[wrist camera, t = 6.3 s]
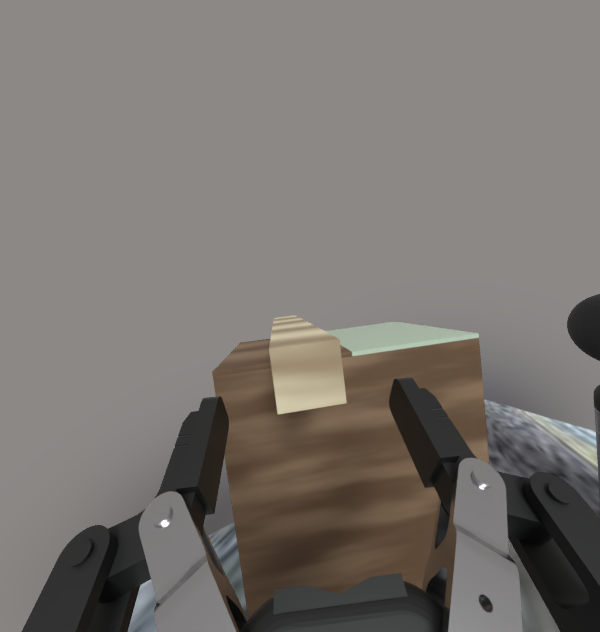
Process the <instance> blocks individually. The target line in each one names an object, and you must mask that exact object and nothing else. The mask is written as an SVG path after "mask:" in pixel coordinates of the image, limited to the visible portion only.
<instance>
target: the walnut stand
mask: <svg viewBox="0 0 600 632" xmlns="http://www.w3.org/2000/svg"><path fill="white" fill-rule="evenodd" d="M325 332H327V333H329V334H331V335H333V336H335V337H336V338H338V339H339V340H340V349H341V358H342V366H343V375H344V383H345V392H346V401H347V403H345V404H339V405H333V406H327V407H321V408H315V409H309V410H303V411H297V412H290V413H284V414H278V413H277V406H276V398H275V391H274V383H273V376H272V368H271V361H270V353H269V345H270V339H266V340H257V341H250V342H243V343H240V344H239V345H238V346H237V347H236V348H235V349H234V350H233V351H232V352H231V353H230V354H229V355H228V356H227V357H226V358H225V359H224V360H223V362H222V363H221V364H220V365H219V366H218V367H217V368H216V369H215V370H214V371H213V372H212V373H213V380H214V387H215V393H216V397H220V396H221V397H222V400H223V402H224V405H225V408H226V411H227V414H228V418H229V431H228V437H227V442H226V448H225V454H224V455H225V462H226V468H227V475H228V482H229V489H230V496H231V503H232V509H233V516H234V523H235V530H236V537H237V543H238V550H239V557H240V564H241V571H242V577H243V584H244V591H245V598H246V605H247V612H248V618H250V617H251V616H252V614H253V613H254V612H255V611H256V610H257V609H258V608H259V607H260V606H261V605H263V604H264V603H265V602H266V601H268V600H269V599H271V598H273V597H274V589H282V588H289V587H297V586H305V585H306V586H310V587H314V588H318V589H322V590H326V591H329V592H333V593H338V594H339V593H343V592H345V591H346V590H348V589H350V588H352V587H353V586H355V585H357V584H359V583H360V582H362V581H364V580H366V579H367V578H369V577H373V576H381V575H388V574H396V573H401V575H402V578H403V581H406V582H409V583H411V584H413V585H416V586H417V587H419V588H421V589H422V586H423V579H424V573H425V569H426V564H427V561H428V558H429V555H430V552H431V547H432V540H433V534H434V527H435V521H436V514H437V507H438V501H439V496H438V494H437V492H436V490H435V488H434V487H429V488H425V487H424V485H423V483H422V480H421V478H420V476H419V474H418V472H417V469H416V467H415V465H414V463H413V460H412V458H411V456H410V454H409V451H408V449H407V447H406V445H405V442H404V440H403V438H402V436H401V433H400V431H399V429H398V427H397V424H396V422H395V420H394V418H393V416H392V413H391V411H390V407H389V397H390V393H391V388H392V384H393V380H394V379H397V378H407V377H411V378H413V379H414V381H415V382H416V384H417V385H418V387H419V388H426V389H427V390H428V391H429V392H431V393H432V394H433V395H434V396H435V397H436V398H437V400H438V401H439V403H440V404H441V406H442V408H443V409H444V410H445V412H446V413H447V415H448V418H450V420H451V421H452V423H453V424H454V426H455V427H456V429H457V430H458V432H459V433H460V435H461V436H462V438H463V439H464V441H465V442H466V444H467V445H468V447H469V448H470V450H471V451H472V453H473V454H474V455H475V456H476V458H477V459H479V460H482V461H484V462H486V463H487V464H489V453H488V441H487V429H486V417H485V406H484V394H483V382H482V370H481V358H480V346H479V335H478V333H471V332H465V331H458V330H451V329H443V328H436V327H429V326H422V325H414V324H407V323H400V322H389V323H382V324H375V325H367V326H360V327H353V328H345V329H338V330H331V331H325Z"/></svg>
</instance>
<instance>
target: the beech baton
mask: <svg viewBox="0 0 600 632" xmlns="http://www.w3.org/2000/svg"><path fill="white" fill-rule="evenodd" d="M269 353H270V361H271V368H272V376H273V383H274V391H275V398H276V406H277V413H278V414H284V413H290V412H297V411H303V410H309V409H315V408H321V407H327V406H333V405H339V404H345V403H347V401H346V392H345V383H344V375H343V366H342V358H341V349H340V340H339V339H338V338H336V337H335V336H333V335H331V334H329V333H327V332H325V331H323V330H321V329H320V328H318V327H316V326H314V325H312V324H310V323H309V322H307V321H305V320H303V319H301V318H299V317H297V316H295V315H294V316H286V317H279V318H274V321H273V327H272V333H271V339H270V345H269Z"/></svg>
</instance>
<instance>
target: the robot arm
mask: <svg viewBox="0 0 600 632" xmlns="http://www.w3.org/2000/svg"><path fill="white" fill-rule="evenodd" d="M567 328H568V332H569V334H570V337H571V339H572V340H573V341H574V343H575V344H576V345H577V346H578V347H579V348H580V349H581V350H582V351H583V352H585V353H586V354H588V355H590V356H591V357H593V358H595V359H597V360H599V361H600V294H598V295H595V296H592V297H589V298H587V299H585V300H583V301H582V302H580V303H579V304H578V305H576V307H575V308H574V309H573V310H572V311H571V313H570V315H569V317H568V321H567ZM389 407H390V411H391V413H392V416H393V418H394V420H395V422H396V424H397V427H398V429H399V431H400V433H401V436H402V438H403V440H404V442H405V445H406V447H407V449H408V451H409V454H410V456H411V458H412V460H413V463H414V465H415V467H416V469H417V472H418V474H419V476H420V478H421V480H422V483H423V485H424V487H425V488H429V487H434V488H435V490H436V492H437V494H438V496H439V501H438V507H437V514H436V521H435V527H434V534H433V540H432V547H431V552H430V555H429V558H428V561H427V564H426V569H425V573H424V579H423V586H422V589H421V588H419V587H417V586H416V585H413V584H411V583H409V582H406V581H403V578H402V575H401V573H396V574H388V575H381V576H373V577H369V578H367V579H366V580H364V581H362V582H360V583H359V584H357V585H355V586H353V587H352V588H350V589H348V590H346V591H345V592H343V593H339V594H338V593H333V592H329V591H326V590H322V589H318V588H314V587H310V586H306V585H305V586H297V587H289V588H282V589H274V597H273V598H271V599H269V600H268V601H266V602H265V603H264V604H263V605H261V606H260V607H259V608H258V609H257V610H256V611H255V612H254V613H253V614H252V616H251V617H250V618H249V619H248V620H247V618H246V616H245V613H244V611H243V609H242V607H241V604H240V602H239V600H238V598H237V596H236V594H235V592H234V590H233V588H232V586H231V584H230V582H229V581H228V579H227V577H226V575H225V573H224V570H223V568H222V566H221V564H220V561H219V559H218V557H217V555H216V553H215V550H214V548H213V546H212V544H211V541H210V539H209V537H208V535H207V533H206V531H205V528H204V526H203V524H204V519H205V515H209V514H214V512H215V506H216V500H217V495H218V488H219V483H220V476H221V471H222V466H223V460H224V454H225V448H226V442H227V437H228V431H229V418H228V414H227V411H226V408H225V405H224V402H223V400H222V397H221V396H220V397H209V398H203V400H202V402H201V405H200V408H199V411H196V412H191V413H190V414H189V416H188V417H187V418H186V419H185V421H184V422H183V424H182V427H181V430H180V433H179V437H178V438H177V441H176V444H175V448H174V450H173V453H172V455H171V459H170V462H169V464H168V467H167V470H166V473H165V476H164V479H163V481H162V484H161V487H160V490H159V492H158V494H157V496H156V497H155V499H154V500H153V501H152V502H151V503H150V504H149V505H148V506H147V507H146V509H144V511H142V512H141V513H139V514H138V515H136V516H134V517H132V518H130V519H128V520H126V521H124V522H122V523H119V524H117V525H115V526H113V527H111V528H109V529H107V528H106V527H104V526H102V525H95V526H92V527H89V528H87V529H85V530H83V531H82V532H81V533H79V534H78V535H76V536H75V537H74V538H73V539H72V540H71V541H70V542H69V543H68V544H67V546H66V547H65V548H64V550H63V551H62V553H61V554H60V556H59V558H58V560H57V562H56V564H55V566H54V568H53V570H52V572H51V574H50V576H49V578H48V580H47V582H46V584H45V586H44V588H43V590H42V592H41V594H40V596H39V598H38V600H37V602H36V604H35V606H34V608H33V610H32V612H31V614H30V616H29V618H28V620H27V622H26V624H25V626H24V628H23V630H22V632H127V631H128V628H129V624H130V620H131V617H132V613H133V609H134V606H135V602H136V598H137V595H138V591H139V587H140V585H141V584H143V583H144V582H146V581H148V580H150V579H151V580H152V584H153V588H154V592H155V596H156V607H155V610H154V617H155V624H156V628H157V632H523V629H522V612H521V596H520V580H519V572H518V568H517V565H516V563H515V562H514V560H512V559H511V558H510V555H509V550H508V538H509V540H510V542H511V543H512V545H513V547H514V549H515V550H516V552H517V554H518V556H519V558H520V559H521V561H522V563H523V565H524V567H525V568H526V570H527V572H528V574H529V576H530V577H531V579H532V581H533V583H534V585H535V586H536V588H537V590H538V592H539V593H540V595H541V597H542V599H543V601H544V602H545V604H546V606H547V608H548V610H549V611H550V613H551V615H552V617H553V619H554V620H555V622H556V624H557V626H558V628H559V629H560V631H561V632H600V519H599V517H598V516H597V515H596V514H595V513H594V511H593V510H592V509H591V508H590V507H589V506H588V504H587V503H586V502H585V501H584V500H583V498H582V497H581V496H580V495H579V494H578V493H577V491H576V490H575V489H574V488H573V487H571V486H570V485H569V484H568V483H566V482H565V481H563V480H562V479H560V478H558V477H557V476H554V475H552V474H549V473H544V472H538V473H535V474H533V475H532V476H531V477H530V478H529V479H528V478H523V477H519V476H514V475H510V474H506V473H501V472H498V471H496V470H495V469H494V468H493V467H492V466H490V465H489V464H487V463H486V462H484V461H482V460H479V459H477V458H476V456H475V455H474V454H473V453H472V451H471V450H470V448H469V447H468V445H467V444H466V442H465V441H464V439H463V438H462V436H461V435H460V433H459V432H458V430H457V429H456V427H455V426H454V424H453V423H452V421H451V420H450V418H448V415H447V413H446V412H445V410H444V409H443V408H442V406H441V404H440V403H439V401H438V400H437V398H436V397H435V396H434V395H433V394H432V393H431V392H429V391H428V390H427V389H426V388H419V387H418V385H417V384H416V382H415V381H414V379H413V378H411V377H407V378H397V379H394V380H393V384H392V388H391V393H390V397H389ZM594 408H595V425H596V441H597V459H598V477H599V495H600V385H599V386H597V388H596V389H595V390H594Z"/></svg>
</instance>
